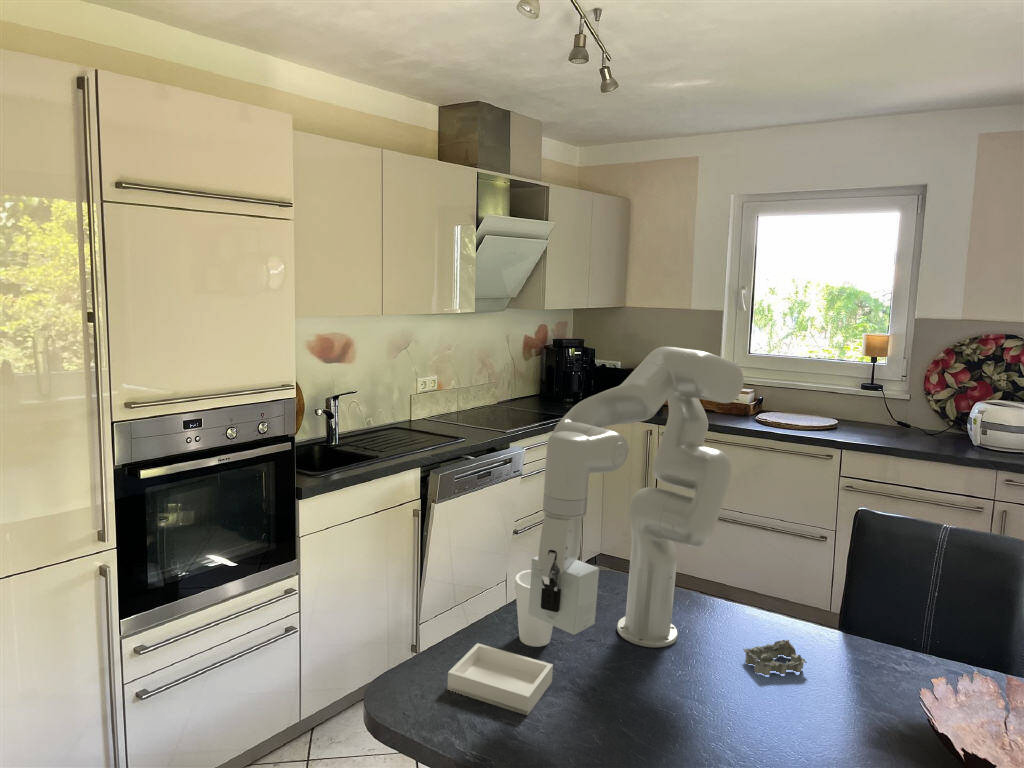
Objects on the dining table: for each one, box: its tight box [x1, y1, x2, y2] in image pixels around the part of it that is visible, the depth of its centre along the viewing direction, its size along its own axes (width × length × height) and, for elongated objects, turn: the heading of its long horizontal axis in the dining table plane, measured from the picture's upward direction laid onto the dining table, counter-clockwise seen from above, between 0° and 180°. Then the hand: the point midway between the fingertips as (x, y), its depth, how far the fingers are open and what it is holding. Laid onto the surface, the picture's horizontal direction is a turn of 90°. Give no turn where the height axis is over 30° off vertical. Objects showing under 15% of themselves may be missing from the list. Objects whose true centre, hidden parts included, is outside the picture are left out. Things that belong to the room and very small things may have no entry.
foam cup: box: [514, 569, 554, 648], centre depth 151 cm, size 10×9×13 cm
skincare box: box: [528, 556, 600, 636], centre depth 128 cm, size 10×6×10 cm, turn 49°
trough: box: [447, 642, 554, 716], centre depth 134 cm, size 12×16×4 cm
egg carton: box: [743, 639, 808, 676], centre depth 145 cm, size 11×8×4 cm
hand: (557, 599), depth 129 cm, fingers closed on skincare box, 7 cm apart
